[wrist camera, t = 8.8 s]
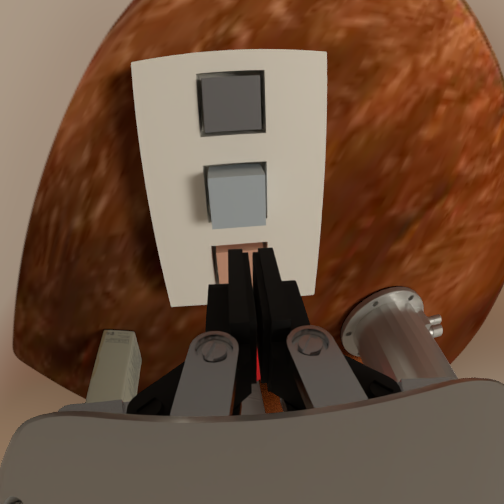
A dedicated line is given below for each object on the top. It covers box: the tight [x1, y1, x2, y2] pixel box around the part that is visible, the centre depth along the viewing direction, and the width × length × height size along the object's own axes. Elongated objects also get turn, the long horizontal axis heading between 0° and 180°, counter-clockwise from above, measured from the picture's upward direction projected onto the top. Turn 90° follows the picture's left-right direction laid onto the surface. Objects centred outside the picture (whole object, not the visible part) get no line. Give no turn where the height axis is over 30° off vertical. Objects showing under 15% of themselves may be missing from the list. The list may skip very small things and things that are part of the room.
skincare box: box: [85, 330, 142, 403], centre depth 32 cm, size 6×4×12 cm
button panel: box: [131, 49, 327, 307], centre depth 26 cm, size 14×22×4 cm, turn 2°
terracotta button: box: [216, 242, 263, 287], centre depth 28 cm, size 4×4×3 cm
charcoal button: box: [201, 75, 262, 133], centre depth 21 cm, size 4×4×3 cm
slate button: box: [208, 163, 266, 229], centre depth 23 cm, size 4×4×3 cm
